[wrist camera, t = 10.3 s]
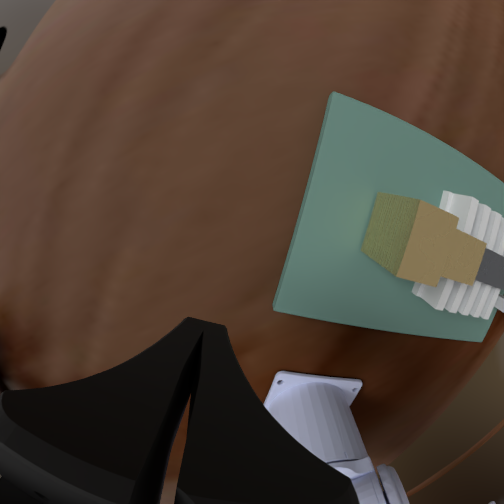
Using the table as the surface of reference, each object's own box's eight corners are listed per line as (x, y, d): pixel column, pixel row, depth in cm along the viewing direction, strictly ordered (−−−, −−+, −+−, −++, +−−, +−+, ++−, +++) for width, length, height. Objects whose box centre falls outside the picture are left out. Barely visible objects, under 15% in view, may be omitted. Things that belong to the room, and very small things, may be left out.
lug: (430, 270, 18) (471, 296, 13) (360, 250, 18) (396, 276, 13) (446, 220, 17) (492, 235, 12) (377, 191, 17) (420, 199, 12)
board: (476, 337, 22) (506, 363, 16) (272, 304, 20) (280, 347, 15) (522, 202, 18) (560, 212, 13) (329, 95, 16) (358, 68, 11)
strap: (512, 296, 16) (518, 301, 15) (422, 267, 16) (430, 272, 15) (524, 262, 16) (531, 266, 15) (437, 219, 15) (446, 222, 14)
